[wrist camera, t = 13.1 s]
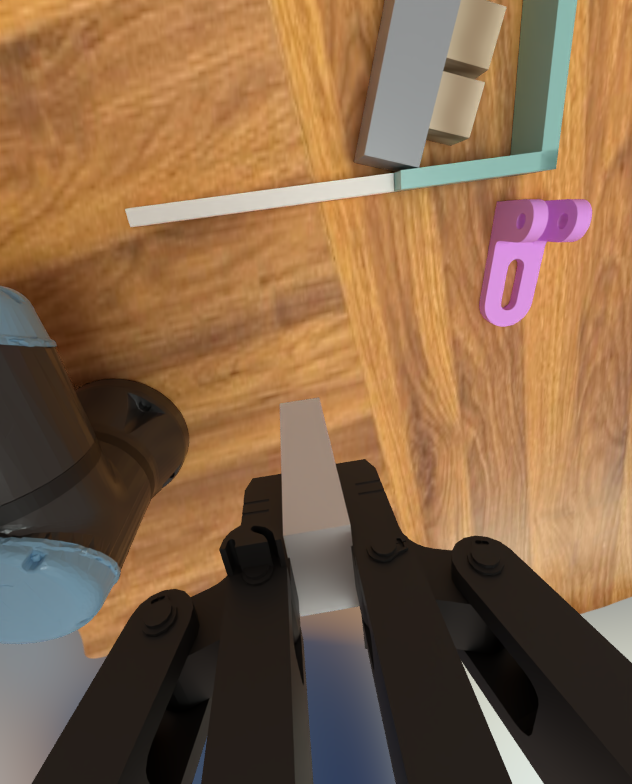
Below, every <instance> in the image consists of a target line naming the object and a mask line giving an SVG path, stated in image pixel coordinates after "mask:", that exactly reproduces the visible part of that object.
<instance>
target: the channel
mask: <svg viewBox="0 0 632 784" xmlns="http://www.w3.org/2000/svg"><path fill="white" fill-rule="evenodd" d="M393 191H394V173H389V174H381V175H374V176H367V177H359V178H352V179H344V180H337V181H329V182H322V183H314V184H307V185H299V186H292V187H284V188H277V189H269V190H262V191H254V192H247V193H239V194H232V195H224V196H217V197H210V198H202V199H195V200H187V201H180V202H172V203H165V204H157V205H150V206H142V207H135V208H127V209H125V211H126V214H127V218H128V221H129V224H130V227H139V226H148V225H155V224H162V223H170V222H177V221H184V220H192V219H199V218H207V217H214V216H221V215H229V214H236V213H243V212H251V211H258V210H265V209H273V208H280V207H288V206H295V205H302V204H310V203H317V202H324V201H332V200H339V199H347V198H354V197H361V196H369V195H376V194H383V193H389V192H393Z"/></svg>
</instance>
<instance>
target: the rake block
mask: <svg viewBox="0 0 632 784" xmlns="http://www.w3.org/2000/svg"><path fill="white" fill-rule="evenodd" d="M460 2H461V0H385V2H384V7H383V12H382V18H381V23H380V28H379V34H378V39H377V44H376V49H375V55H374V60H373V65H372V70H371V76H370V81H369V86H368V91H367V97H366V102H365V107H364V112H363V118H362V123H361V128H360V133H359V139H358V144H357V149H356V154H355V160H354V163H358V164H363V165H367V166H371V167H376V168H380V169H384V170H389V171H393V172H398V171H400V170H407V169H414V168H419V166H420V162H421V158H422V154H423V150H424V146H425V142H426V138H427V134H428V130H429V126H430V122H431V118H432V114H433V110H434V106H435V102H436V98H437V94H438V90H439V86H440V82H441V78H442V74H443V70H444V66H445V62H446V58H447V54H448V50H449V46H450V42H451V38H452V34H453V30H454V26H455V22H456V18H457V14H458V10H459V6H460Z"/></svg>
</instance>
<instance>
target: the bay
mask: <svg viewBox="0 0 632 784" xmlns="http://www.w3.org/2000/svg"><path fill="white" fill-rule="evenodd" d="M576 5H577V0H523V7H522V19H521V32H520V44H519V56H518V69H517V81H516V93H515V106H514V118H513V130H512V143H511V155H510V156H504V157H496V158H489V159H481V160H474V161H466V162H459V163H451V164H444V165H436V166H429V167H422V168H414V169H407V170H400V171H398V172H395V173H394V191H393V192H398V191H406V190H413V189H420V188H428V187H435V186H442V185H450V184H457V183H465V182H472V181H479V180H487V179H494V178H501V177H509V176H516V175H523V174H529V173H535V172H540V171H546V170H551V169H556V164H557V156H558V148H559V140H560V132H561V124H562V116H563V109H564V101H565V93H566V85H567V77H568V69H569V61H570V53H571V45H572V37H573V29H574V21H575V13H576ZM389 193H391V192H389Z"/></svg>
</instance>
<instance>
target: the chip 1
mask: <svg viewBox="0 0 632 784" xmlns="http://www.w3.org/2000/svg"><path fill="white" fill-rule="evenodd" d="M505 11H506V7H505V6H502V5H499V4H496V3H493V2H490V1H487V0H461V2H460V6H459V10H458V14H457V18H456V22H455V26H454V30H453V34H452V38H451V42H450V46H449V50H448V54H447V58H446V62H445V66H444V70H443V71H445V72H448V73H452V74H456V75H459V76H463V77H467V78H470V79H476V78H477V77H478V76H480V75H481V74H483V73H484V72H486V71H487V70H488V69H489V66H490V62H491V59H492V55H493V52H494V49H495V45H496V42H497V38H498V35H499V31H500V28H501V24H502V21H503V17H504V14H505Z"/></svg>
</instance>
